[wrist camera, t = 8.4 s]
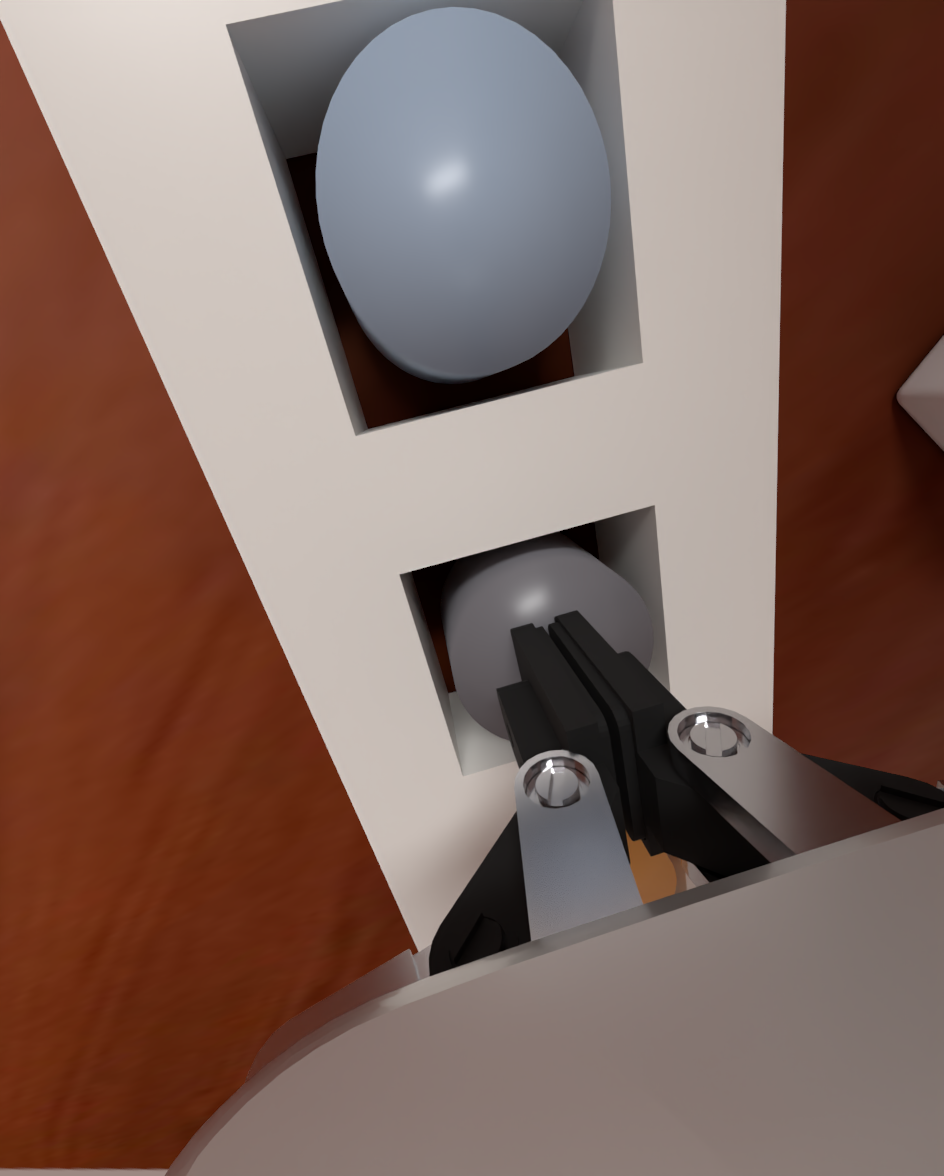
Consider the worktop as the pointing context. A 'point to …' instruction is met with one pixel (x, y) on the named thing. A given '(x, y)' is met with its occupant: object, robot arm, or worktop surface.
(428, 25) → the slate button
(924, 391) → the medicine bottle
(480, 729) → the frame
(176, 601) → the worktop surface
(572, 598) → the charcoal button
